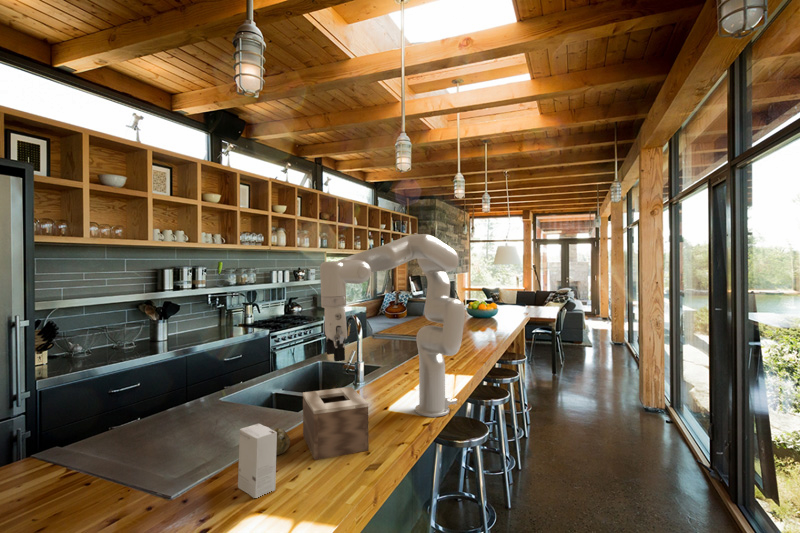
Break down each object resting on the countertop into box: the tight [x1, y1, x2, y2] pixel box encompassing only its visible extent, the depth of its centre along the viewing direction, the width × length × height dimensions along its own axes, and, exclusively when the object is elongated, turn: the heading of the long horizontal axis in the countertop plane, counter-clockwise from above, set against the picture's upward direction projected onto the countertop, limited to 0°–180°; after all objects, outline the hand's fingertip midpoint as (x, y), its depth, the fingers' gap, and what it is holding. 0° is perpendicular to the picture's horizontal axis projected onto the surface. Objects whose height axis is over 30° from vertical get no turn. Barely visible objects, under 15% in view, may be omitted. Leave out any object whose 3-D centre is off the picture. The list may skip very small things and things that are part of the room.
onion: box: [272, 426, 291, 456], centre depth 128 cm, size 8×8×8 cm
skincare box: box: [237, 423, 277, 499], centre depth 108 cm, size 8×6×15 cm
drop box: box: [302, 386, 370, 461], centre depth 134 cm, size 16×18×14 cm
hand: (335, 357), depth 134 cm, fingers open, 9 cm apart
